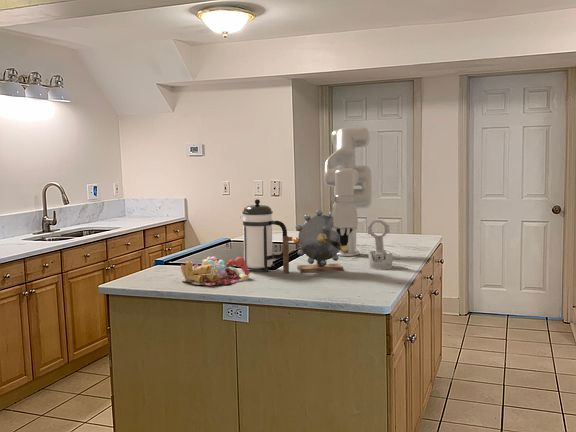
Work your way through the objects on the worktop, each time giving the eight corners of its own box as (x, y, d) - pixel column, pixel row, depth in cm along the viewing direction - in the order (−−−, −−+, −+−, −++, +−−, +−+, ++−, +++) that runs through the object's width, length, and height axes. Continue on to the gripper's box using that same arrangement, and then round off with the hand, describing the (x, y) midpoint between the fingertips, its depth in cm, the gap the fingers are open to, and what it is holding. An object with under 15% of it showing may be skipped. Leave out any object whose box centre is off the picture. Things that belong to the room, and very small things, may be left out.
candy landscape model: (218, 290, 219) (218, 265, 218) (170, 283, 231) (169, 259, 230) (256, 277, 240) (256, 254, 239) (210, 271, 252) (210, 250, 251)
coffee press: (250, 274, 243) (249, 201, 239) (235, 268, 257) (234, 198, 254) (288, 270, 251) (287, 199, 247) (271, 264, 265) (270, 196, 262)
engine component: (390, 269, 250) (393, 265, 259) (390, 221, 248) (394, 218, 257) (364, 268, 253) (369, 263, 263) (364, 220, 251) (369, 217, 261)
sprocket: (313, 276, 250) (358, 242, 252) (320, 281, 239) (366, 247, 241) (282, 231, 245) (327, 198, 247) (287, 235, 234) (334, 200, 237)
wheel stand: (338, 266, 257) (337, 232, 255) (343, 270, 249) (343, 234, 248) (281, 269, 253) (280, 234, 251) (284, 273, 245) (283, 236, 243)
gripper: (328, 201, 236) (328, 247, 238) (364, 200, 238) (364, 245, 240) (323, 199, 243) (324, 244, 245) (359, 198, 246) (359, 242, 248)
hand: (344, 244), depth 243 cm, fingers closed
